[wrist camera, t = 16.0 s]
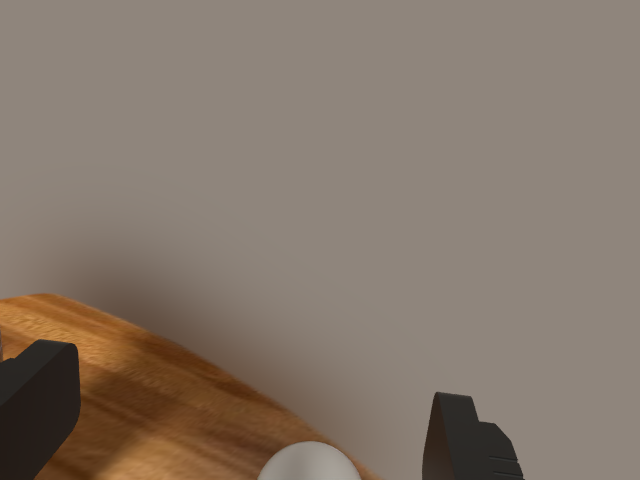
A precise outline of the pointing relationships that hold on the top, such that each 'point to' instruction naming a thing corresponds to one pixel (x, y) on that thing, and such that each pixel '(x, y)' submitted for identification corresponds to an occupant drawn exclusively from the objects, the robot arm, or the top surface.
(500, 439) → the robot arm
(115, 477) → the top surface
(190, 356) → the top surface
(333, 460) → the lightbulb
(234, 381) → the top surface
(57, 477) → the top surface
